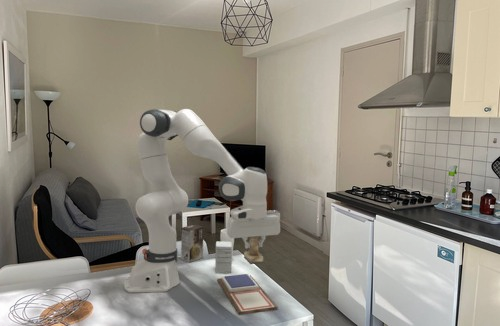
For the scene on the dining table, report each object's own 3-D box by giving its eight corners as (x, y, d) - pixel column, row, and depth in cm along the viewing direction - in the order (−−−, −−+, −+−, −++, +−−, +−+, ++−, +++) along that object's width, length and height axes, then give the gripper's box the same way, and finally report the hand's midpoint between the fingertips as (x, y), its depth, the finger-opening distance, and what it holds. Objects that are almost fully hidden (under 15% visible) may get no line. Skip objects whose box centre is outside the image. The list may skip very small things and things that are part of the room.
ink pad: (230, 292, 151) (230, 288, 151) (221, 279, 164) (221, 275, 163) (258, 288, 155) (258, 285, 155) (248, 276, 168) (248, 272, 167)
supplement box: (215, 267, 179) (216, 241, 178) (231, 267, 180) (232, 241, 178) (214, 273, 172) (215, 246, 170) (231, 273, 172) (232, 246, 171)
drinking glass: (231, 263, 185) (232, 233, 183) (218, 261, 186) (218, 231, 184) (235, 258, 191) (235, 229, 190) (221, 257, 193) (222, 228, 191)
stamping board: (238, 315, 136) (238, 312, 136) (217, 280, 164) (217, 278, 164) (277, 309, 141) (277, 306, 141) (250, 277, 169) (250, 275, 169)
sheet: (241, 311, 137) (241, 310, 137) (230, 293, 150) (230, 293, 150) (274, 306, 141) (274, 306, 141) (260, 290, 154) (260, 289, 154)
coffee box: (194, 254, 194) (195, 223, 193) (203, 258, 190) (204, 226, 189) (180, 259, 187) (181, 227, 186) (189, 263, 183) (189, 230, 182)
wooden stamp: (250, 264, 140) (250, 239, 139) (244, 257, 146) (244, 233, 145) (263, 262, 141) (263, 238, 140) (256, 256, 148) (257, 232, 147)
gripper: (277, 207, 148) (275, 242, 150) (226, 210, 142) (225, 247, 143) (283, 211, 142) (282, 247, 144) (231, 214, 136) (230, 252, 137)
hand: (253, 247), depth 143 cm, fingers closed on wooden stamp, 3 cm apart
